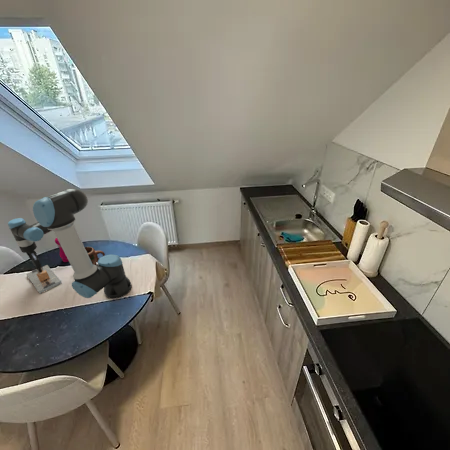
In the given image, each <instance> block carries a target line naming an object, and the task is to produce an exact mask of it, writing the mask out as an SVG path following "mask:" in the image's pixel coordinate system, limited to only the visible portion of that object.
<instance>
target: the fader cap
mask: <svg viewBox="0 0 450 450" xmlns="http://www.w3.org/2000/svg"><path fill="white" fill-rule="evenodd" d="M36 275H37V277H38V279H39V281H40V282H42V281H44V280H46V279H48V278H50V277H49V275H48V273H47V271H46V270H45V271H42V272H40V273H38V274H36Z"/></svg>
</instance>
